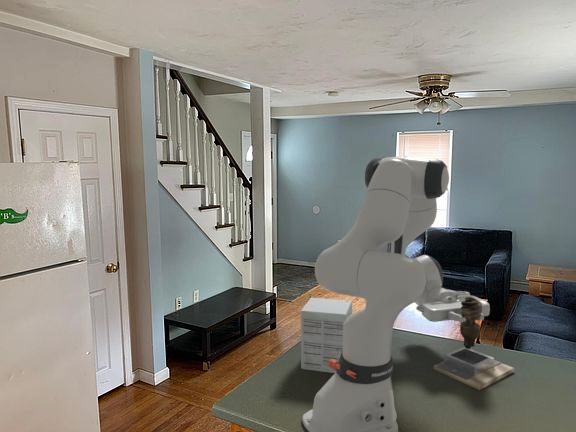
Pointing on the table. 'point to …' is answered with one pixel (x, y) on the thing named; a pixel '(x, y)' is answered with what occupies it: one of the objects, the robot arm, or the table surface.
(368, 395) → the robot arm
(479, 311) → the light bulb
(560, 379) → the table surface
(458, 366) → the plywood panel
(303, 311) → the supplement box
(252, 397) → the table surface
